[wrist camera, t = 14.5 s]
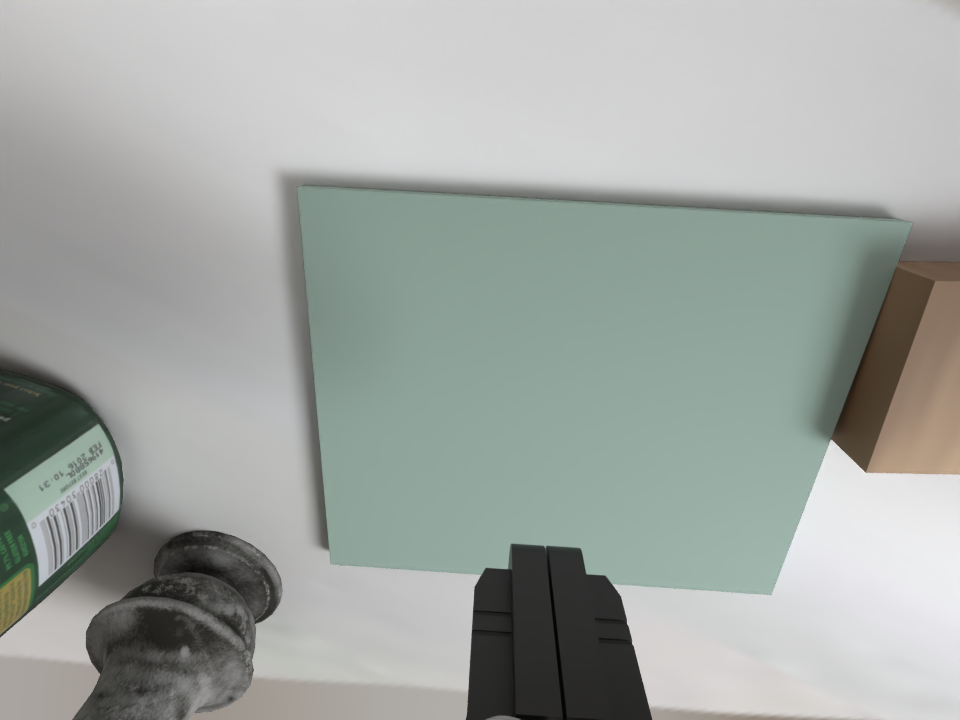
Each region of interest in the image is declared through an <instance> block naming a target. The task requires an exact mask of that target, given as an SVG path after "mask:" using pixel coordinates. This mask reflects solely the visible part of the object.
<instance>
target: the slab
mask: <svg viewBox="0 0 960 720" xmlns="http://www.w3.org/2000/svg"><path fill="white" fill-rule="evenodd" d="M831 439H832V440H833V441H834V442H835V443H836V444H837V445H838V446H839V447H840V448H841V449H842V450H843V451H844V452H845V453H846V454H847V455H848V456H849V457H850V458H851V459H852V460H853V461H854V462H856V463H857V464H858V465H859V466H860V467H861V468H862V469H863V470H864V471H865V472H866V473H913V474H960V262H898V264H897V267H896V269H895V272H894V275H893V277H892V280H891V283H890V285H889V288H888V290H887V293H886V296H885V298H884V301H883V303H882V306H881V309H880V311H879V314H878V317H877V319H876V322H875V324H874V327H873V330H872V332H871V335H870V338H869V340H868V343H867V345H866V348H865V351H864V353H863V356H862V359H861V361H860V364H859V366H858V369H857V372H856V374H855V377H854V379H853V382H852V385H851V387H850V390H849V393H848V395H847V398H846V400H845V403H844V406H843V408H842V411H841V414H840V416H839V419H838V421H837V424H836V427H835V429H834V432H833V435H832V437H831Z"/></svg>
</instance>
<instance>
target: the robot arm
mask: <svg viewBox="0 0 960 720" xmlns="http://www.w3.org/2000/svg"><path fill="white" fill-rule="evenodd" d="M466 720H652V717H651V713H650V709H649V705H648V701H647V697H646V693H645V690H644V686H643V682H642V678H641V674H640V670H639V666H638V662H637V658H636V654H635V650H634V646H633V645H632V638H631V635H630V631H629V627H628V625H627V619H626V615H625V611H624V607H623V603H622V599H621V596H620V595H619V593H618V592H617V591H616V589H615V588H614V586H613V585H612V584H611V582H610V581H609V579H608V578H607V577H606V575H590V574H586V570H585V564H584V559H583V554H582V550H581V548H575V547H560V546H546V548H545V547H544V546H542V545H527V544H512V543H511V545H510V552H509V563H508V569H497V568H485V570H484V572H483V573H482V575H481V577H480V579H479V580H478V582H477V584H476V586H475V590H474V606H473V622H472V639H471V656H470V673H469V690H468V707H467V717H466Z"/></svg>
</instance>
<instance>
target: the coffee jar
mask: <svg viewBox="0 0 960 720" xmlns="http://www.w3.org/2000/svg"><path fill="white" fill-rule="evenodd" d="M123 481H124V480H123V473H122V463H121V459H120V455H119V453H118V450H117V448H116V445H115V442H114V440H113V438H112V436H111V434H110V432H109V430H108V429H107V427H106V426H105V424H104V423H103V422H102V420H101V419H100V418H99V416H98V415H97V414H96V413H95V412H94V411H93V410H92V408H91V407H90V406H89V404H88V403H86V402H85V401H84V400H82V399H81V398H79V397H78V396H76V395H74V394H72V393H70V392H68V391H66V390H64V389H61V388H59V387H56V386H54V385H51V384H48V383H45V382H42V381H39V380H36V379H33V378H30V377H27V376H25V375H19V374H16V373H13V372H10V371H6V370H2V369H0V637H1V636H2V635H4V634H5V633H6V632H7V631H8V630H9V629H10V628H12V627H13V626H14V625H15V624H16V623H17V622H19V621H20V620H21V619H22V618H23V617H24V616H26V615H27V614H28V613H29V612H30V611H31V610H33V609H34V608H35V607H36V606H37V605H38V604H39V603H41V602H42V601H43V600H44V599H45V598H46V597H47V596H49V595H50V594H51V593H52V592H53V591H54V590H55V589H56V588H58V587H59V586H60V585H61V584H62V583H63V582H64V581H65V580H66V579H67V578H68V577H69V576H70V575H71V574H72V573H73V572H74V571H75V570H77V569H78V568H79V567H80V566H81V565H82V564H83V563H84V562H85V561H86V560H87V559H88V558H89V557H90V556H91V555H92V554H93V553H94V552H95V551H96V550H97V549H98V548H99V547H100V546H101V545H102V544H103V543H104V542H105V541H106V540H107V539H108V538H109V536H110V535H111V534H112V532H113V531H114V529H115V526H116V524H117V522H118V518H119V514H120V510H121V504H122V497H123Z"/></svg>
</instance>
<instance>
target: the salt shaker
mask: <svg viewBox="0 0 960 720" xmlns="http://www.w3.org/2000/svg"><path fill="white" fill-rule="evenodd" d="M154 575H155V578H154V579H151V580H149V581H147V582H145V583H144V584H142V585H140V586H139V587H137V588H135V589H134V590H132V591H130V592H129V593H128V594H127V595H126V596H124V597H123V598H122V599H121V600H120V601H118V602H115V603H113V604H110V605H108V606H106V607H105V608H103V609H102V610H101V611H100V612H99V613H98V614H97V615H95V616H94V617H93V619H92V621H91V623H90V625H89V627H88V629H87V631H86V649H87V651H88V654H89V657H90V660H91V662H92V664H93V665H94V666H95V668H96V669H97V670H98V672H99V673H100V677H99V679H98V682H97V684H96V686H95V688H94V690H93V692H92V693H91V695H90V696H89V697H88V699H87V700H86V702H85V703H84V704H83V706H82V707H81V709H80V710H79V711H78V713H77V714H76V715H75V717H74V718H73V720H188V719H189V718H190V717H191V716H192V715H193V713H202V712H211V711H214V710H218V709H221V708H224V707H227V706H229V705H230V704H232V703H233V702H235V701H236V700H238V699H239V698H241V697H242V696H243V694H244V693H245V692H246V690H247V688H248V687H249V686H250V684H251V680H252V675H253V671H254V669H253V664H252V659H253V654H254V649H255V635H256V627H255V624H256V623H259V622H262V621H263V620H265V619H266V618H268V617H269V616H270V615H272V614H273V612H274V611H275V609H276V608H277V606H278V605H279V603H280V599H281V595H282V584H281V578H280V576H279V574H278V572H277V570H276V568H275V566H274V565H273V564H272V563H271V562H270V560H269V559H268V558H267V557H266V556H265V555H264V554H263V553H262V552H260V551H259V550H258V549H256V548H255V547H254V546H252V545H251V544H249V543H247V542H245V541H243V540H241V539H239V538H236V537H234V536H230V535H226V534H223V533H219V532H208V531H197V532H190V533H184V534H182V535H180V536H177V537H175V538H173V539H171V540H170V541H169V542H168V543H166V544H165V545H164V546H163V547H162V548H161V549H160V551H159V553H158V555H157V557H156V559H155V562H154Z"/></svg>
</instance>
